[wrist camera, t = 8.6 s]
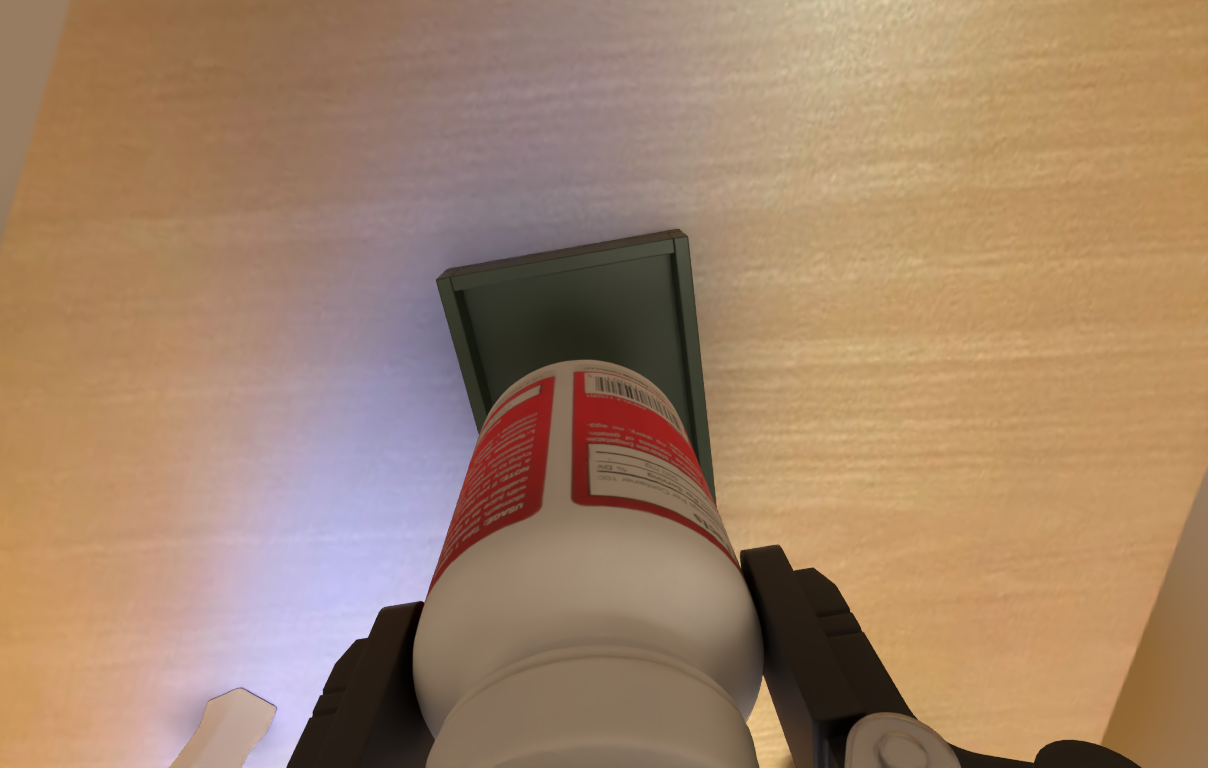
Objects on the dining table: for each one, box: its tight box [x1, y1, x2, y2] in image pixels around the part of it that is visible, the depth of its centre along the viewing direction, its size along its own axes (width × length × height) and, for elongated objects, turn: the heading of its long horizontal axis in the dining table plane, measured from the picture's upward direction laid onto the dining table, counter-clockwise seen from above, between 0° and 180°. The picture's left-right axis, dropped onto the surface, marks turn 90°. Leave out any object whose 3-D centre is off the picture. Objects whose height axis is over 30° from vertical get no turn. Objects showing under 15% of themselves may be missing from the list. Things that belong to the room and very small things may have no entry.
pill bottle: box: [413, 360, 764, 768], centre depth 12 cm, size 6×6×11 cm
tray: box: [436, 229, 717, 507], centre depth 29 cm, size 10×27×2 cm, turn 9°
